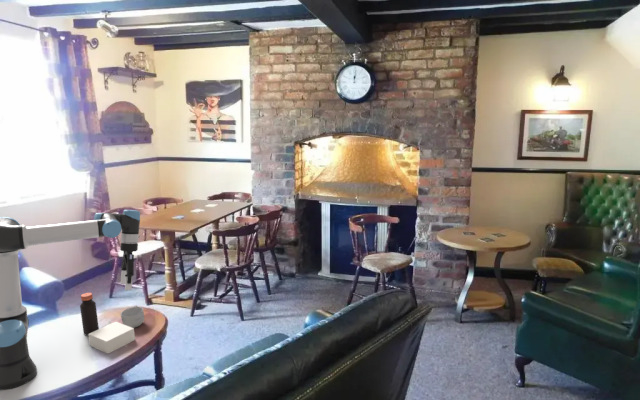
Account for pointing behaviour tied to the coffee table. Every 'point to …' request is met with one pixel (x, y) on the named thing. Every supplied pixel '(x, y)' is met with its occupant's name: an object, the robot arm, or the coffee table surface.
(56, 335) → the coffee table surface
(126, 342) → the riser
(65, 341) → the coffee table surface
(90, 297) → the vinegar
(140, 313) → the teacup
